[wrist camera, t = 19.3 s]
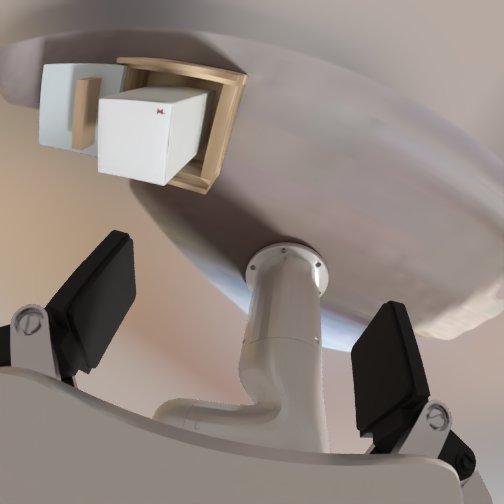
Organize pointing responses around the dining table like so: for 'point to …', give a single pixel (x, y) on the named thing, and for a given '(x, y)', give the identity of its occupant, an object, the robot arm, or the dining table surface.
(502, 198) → the dining table surface
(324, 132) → the dining table surface
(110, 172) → the supplement box
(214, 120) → the box
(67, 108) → the lid
